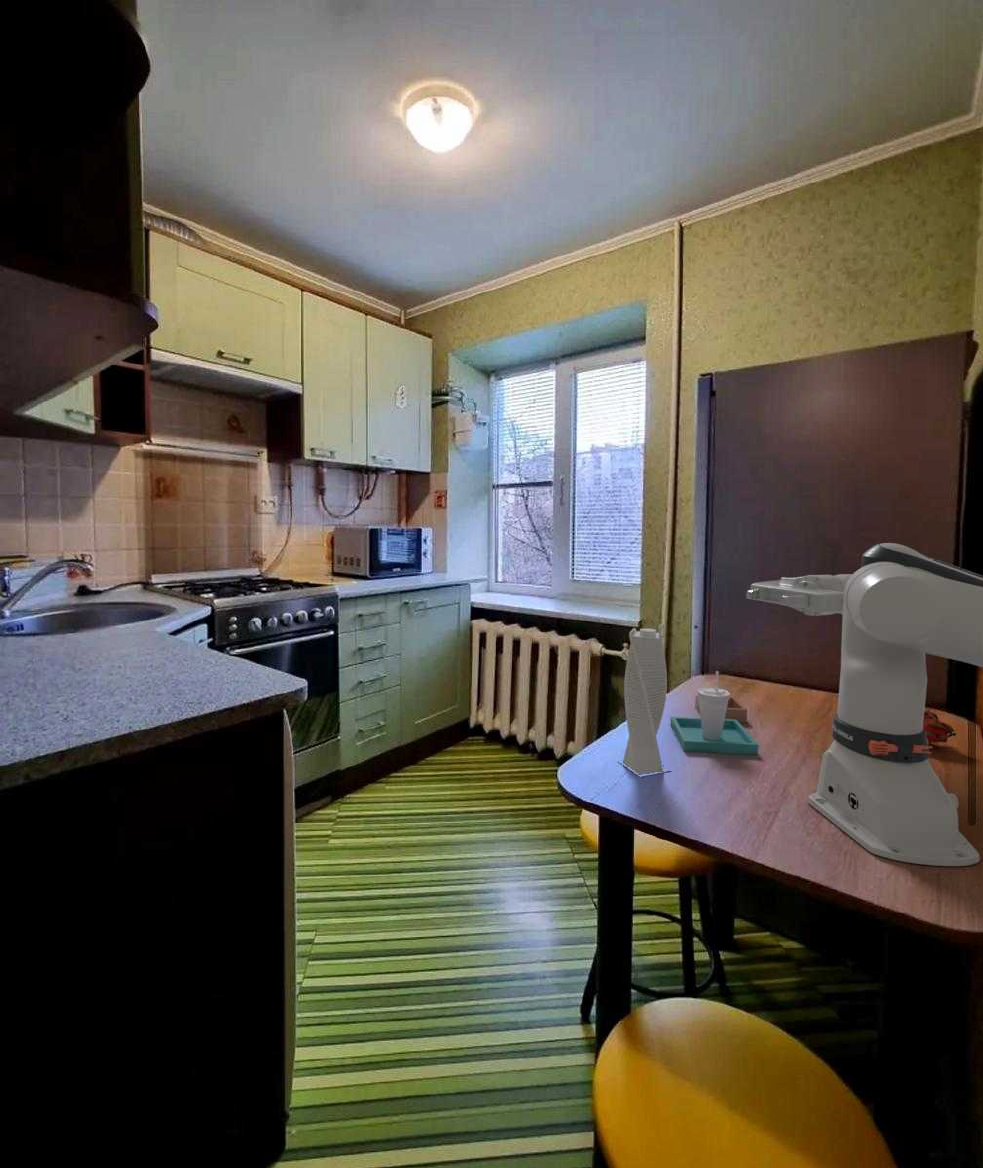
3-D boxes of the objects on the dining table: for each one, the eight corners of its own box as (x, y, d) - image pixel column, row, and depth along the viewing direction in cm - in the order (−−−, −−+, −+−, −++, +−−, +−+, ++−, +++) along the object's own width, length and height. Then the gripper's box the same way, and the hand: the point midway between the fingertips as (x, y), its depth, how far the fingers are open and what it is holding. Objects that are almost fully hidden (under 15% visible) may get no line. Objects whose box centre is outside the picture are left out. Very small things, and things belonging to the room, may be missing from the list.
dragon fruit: (877, 739, 122) (946, 764, 113) (875, 726, 116) (947, 751, 107) (891, 705, 123) (960, 727, 115) (890, 690, 118) (962, 712, 109)
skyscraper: (676, 776, 101) (683, 623, 98) (639, 783, 98) (645, 626, 95) (647, 757, 109) (652, 615, 106) (612, 764, 106) (616, 618, 103)
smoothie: (733, 742, 114) (736, 675, 112) (701, 742, 114) (705, 675, 112) (720, 730, 120) (723, 667, 119) (690, 730, 120) (693, 667, 119)
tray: (757, 755, 109) (758, 744, 109) (683, 751, 111) (684, 741, 111) (735, 728, 123) (736, 719, 123) (670, 725, 125) (670, 716, 125)
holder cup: (746, 722, 127) (747, 709, 127) (704, 720, 128) (705, 707, 128) (734, 709, 136) (734, 697, 136) (695, 707, 137) (695, 695, 137)
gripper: (859, 617, 112) (806, 620, 108) (778, 603, 132) (730, 605, 128) (862, 586, 112) (808, 588, 107) (780, 576, 131) (732, 578, 127)
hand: (765, 597), depth 118 cm, fingers open, 8 cm apart
